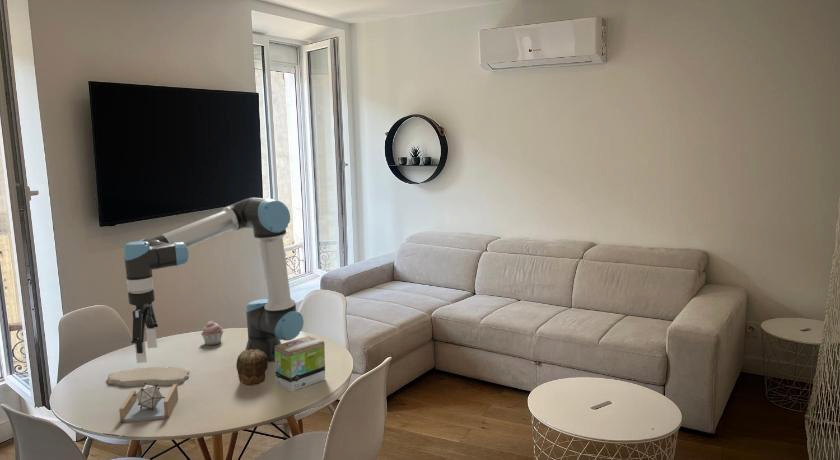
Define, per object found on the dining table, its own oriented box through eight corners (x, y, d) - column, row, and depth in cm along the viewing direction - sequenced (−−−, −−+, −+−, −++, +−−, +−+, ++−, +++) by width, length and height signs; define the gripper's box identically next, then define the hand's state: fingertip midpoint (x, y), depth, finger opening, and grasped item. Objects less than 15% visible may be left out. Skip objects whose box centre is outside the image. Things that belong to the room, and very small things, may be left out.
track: (178, 399, 211) (176, 384, 210) (169, 417, 198) (167, 401, 197) (133, 403, 209) (131, 387, 208) (120, 422, 195) (118, 405, 194)
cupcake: (229, 341, 269) (227, 319, 267) (210, 348, 262) (208, 325, 260) (216, 337, 275) (214, 315, 273) (197, 343, 267) (195, 321, 266)
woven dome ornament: (241, 390, 217) (239, 357, 216) (234, 379, 227) (232, 348, 225) (272, 384, 222) (270, 352, 221) (264, 374, 232) (262, 343, 230)
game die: (146, 417, 204) (139, 388, 208) (171, 406, 205) (163, 378, 208) (133, 415, 196) (125, 385, 199) (159, 404, 197) (151, 374, 200)
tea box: (292, 392, 215) (290, 351, 212) (275, 385, 222) (272, 345, 219) (326, 379, 226) (324, 340, 223) (309, 372, 232) (307, 334, 230)
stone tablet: (182, 386, 223) (182, 380, 223) (98, 388, 223) (98, 381, 223) (198, 369, 240) (197, 363, 239) (120, 370, 240) (119, 364, 239)
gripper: (138, 282, 209) (144, 342, 213) (116, 301, 185) (123, 370, 188) (162, 280, 210) (168, 340, 214) (143, 300, 186) (150, 367, 190)
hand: (147, 354), depth 201 cm, fingers open, 13 cm apart
